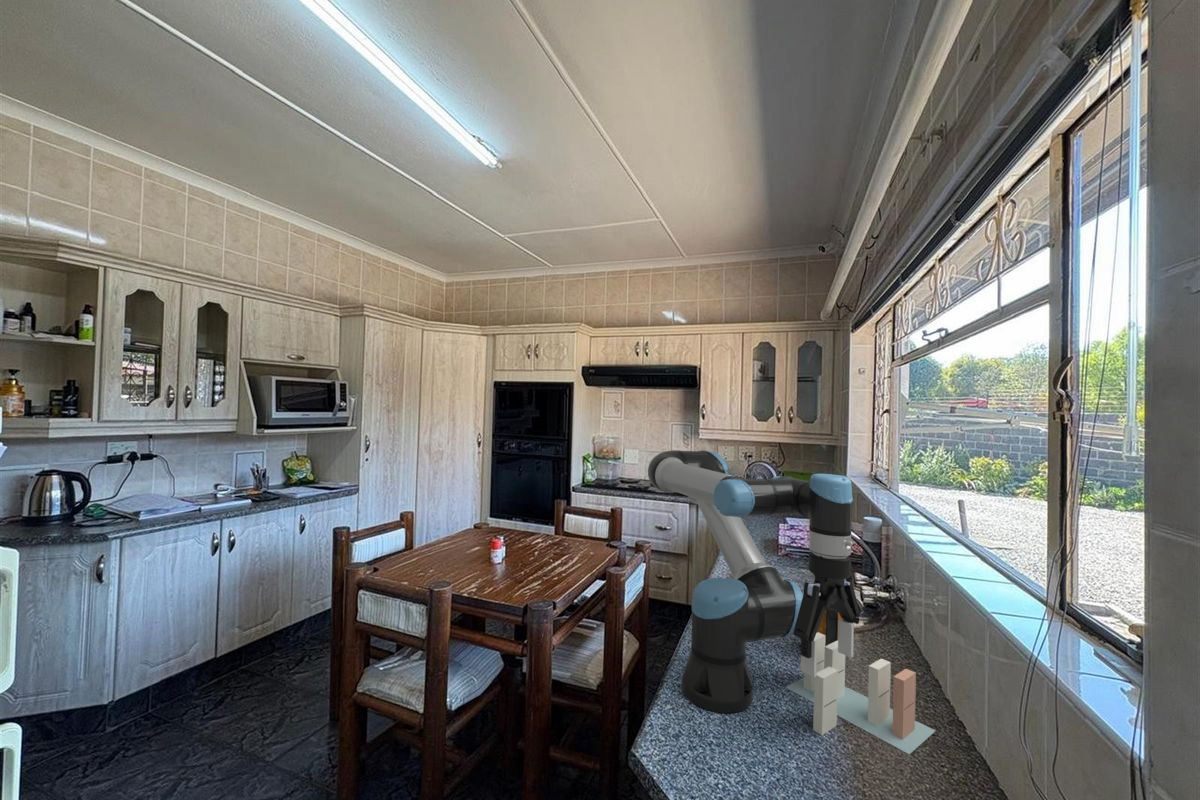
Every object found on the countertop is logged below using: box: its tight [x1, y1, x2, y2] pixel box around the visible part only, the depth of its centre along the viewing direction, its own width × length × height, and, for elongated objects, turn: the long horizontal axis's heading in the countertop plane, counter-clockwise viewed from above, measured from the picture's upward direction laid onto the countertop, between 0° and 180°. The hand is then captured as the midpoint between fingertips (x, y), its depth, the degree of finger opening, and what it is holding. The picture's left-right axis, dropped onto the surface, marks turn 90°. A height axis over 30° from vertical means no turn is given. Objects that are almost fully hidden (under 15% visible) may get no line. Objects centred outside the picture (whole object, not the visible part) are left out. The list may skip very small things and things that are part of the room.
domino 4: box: [867, 658, 892, 726], centre depth 97 cm, size 2×5×11 cm, turn 126°
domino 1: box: [803, 632, 825, 692], centre depth 108 cm, size 2×5×11 cm, turn 126°
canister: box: [817, 602, 843, 646], centre depth 121 cm, size 9×11×20 cm
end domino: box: [892, 668, 917, 740], centre depth 93 cm, size 2×5×11 cm, turn 126°
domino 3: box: [812, 666, 838, 736], centre depth 94 cm, size 2×5×11 cm, turn 126°
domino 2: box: [824, 640, 846, 699], centre depth 104 cm, size 2×5×11 cm, turn 126°
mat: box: [785, 677, 937, 755], centre depth 100 cm, size 25×12×1 cm, turn 36°
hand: (827, 663), depth 93 cm, fingers open, 13 cm apart
